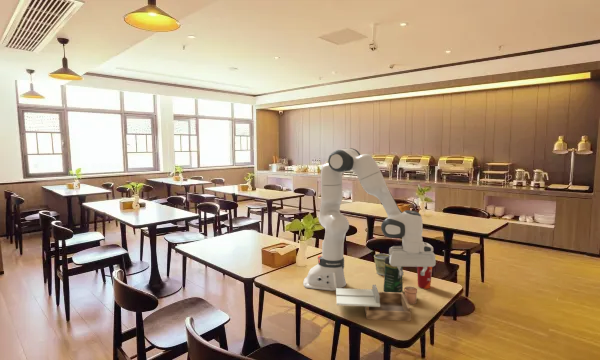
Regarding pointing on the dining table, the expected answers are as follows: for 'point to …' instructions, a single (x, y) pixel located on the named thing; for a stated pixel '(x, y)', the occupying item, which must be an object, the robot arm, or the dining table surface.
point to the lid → (358, 297)
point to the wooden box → (390, 307)
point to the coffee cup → (424, 278)
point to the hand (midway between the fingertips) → (411, 275)
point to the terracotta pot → (410, 294)
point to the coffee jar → (392, 278)
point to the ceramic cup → (380, 263)
